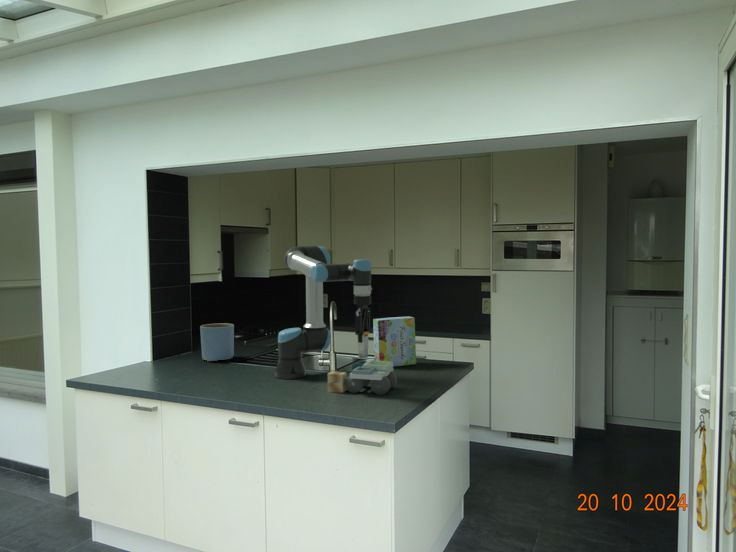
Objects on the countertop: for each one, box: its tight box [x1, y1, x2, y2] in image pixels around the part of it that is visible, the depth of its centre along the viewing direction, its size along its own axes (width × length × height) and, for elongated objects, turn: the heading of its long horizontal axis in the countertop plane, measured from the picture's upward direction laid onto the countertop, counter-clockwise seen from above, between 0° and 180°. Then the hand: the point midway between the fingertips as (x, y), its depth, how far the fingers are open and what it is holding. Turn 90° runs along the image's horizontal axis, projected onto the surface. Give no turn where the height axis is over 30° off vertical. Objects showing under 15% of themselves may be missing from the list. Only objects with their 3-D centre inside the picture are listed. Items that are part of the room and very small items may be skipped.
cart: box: [345, 366, 398, 396], centre depth 241 cm, size 20×18×10 cm
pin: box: [358, 331, 370, 359], centre depth 237 cm, size 5×5×11 cm
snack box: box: [372, 315, 417, 368], centre depth 294 cm, size 22×9×26 cm, turn 111°
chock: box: [327, 371, 348, 394], centre depth 242 cm, size 7×5×8 cm
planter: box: [199, 322, 235, 362], centre depth 319 cm, size 19×19×20 cm
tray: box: [363, 360, 394, 372], centre depth 244 cm, size 11×10×2 cm
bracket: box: [334, 360, 367, 377], centre depth 268 cm, size 18×7×8 cm, turn 61°
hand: (363, 348), depth 237 cm, fingers closed on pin, 4 cm apart
